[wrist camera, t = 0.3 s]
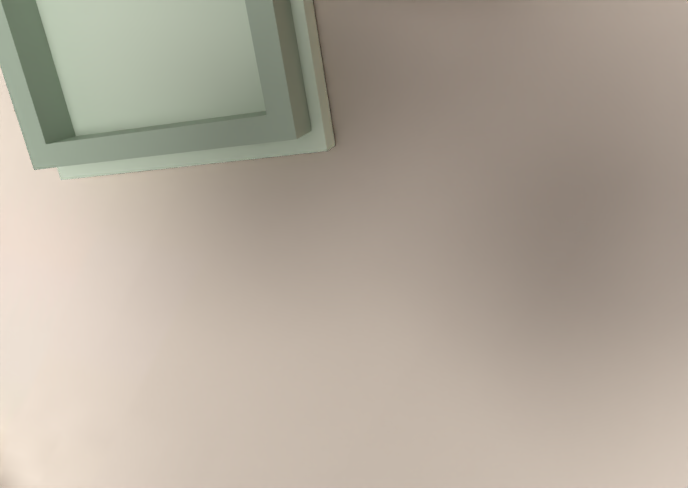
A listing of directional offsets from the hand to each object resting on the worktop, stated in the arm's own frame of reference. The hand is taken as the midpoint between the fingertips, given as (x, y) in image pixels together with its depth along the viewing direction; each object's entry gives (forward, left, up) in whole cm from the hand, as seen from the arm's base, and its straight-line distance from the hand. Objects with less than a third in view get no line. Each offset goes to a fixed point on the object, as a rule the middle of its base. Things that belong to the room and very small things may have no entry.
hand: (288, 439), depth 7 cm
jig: (+4, +10, -13) cm, 17 cm away
